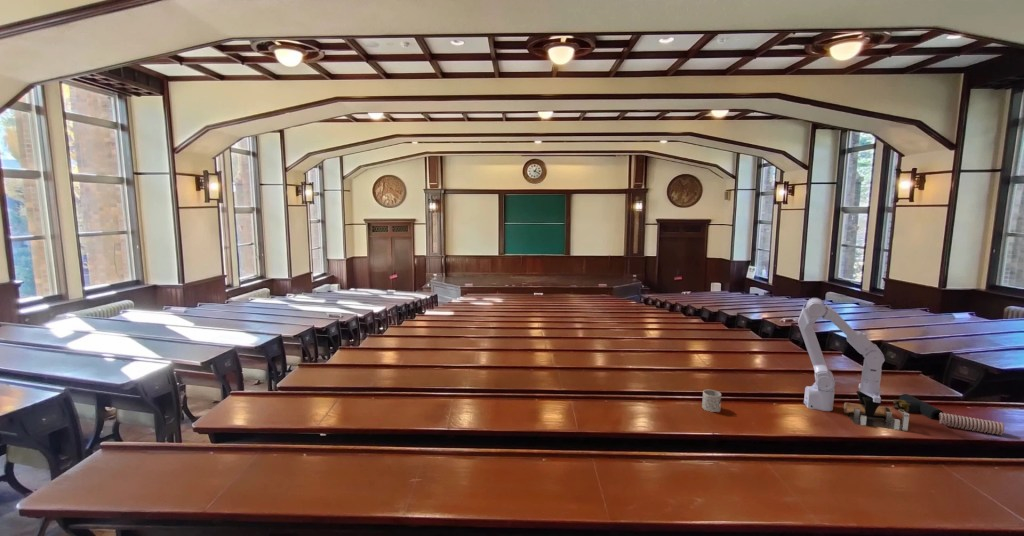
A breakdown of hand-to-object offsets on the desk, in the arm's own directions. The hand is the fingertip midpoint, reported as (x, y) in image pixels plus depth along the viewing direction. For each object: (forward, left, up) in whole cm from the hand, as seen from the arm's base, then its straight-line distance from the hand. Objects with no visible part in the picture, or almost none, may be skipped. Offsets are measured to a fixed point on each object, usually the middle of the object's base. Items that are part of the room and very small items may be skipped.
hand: (866, 413), depth 177 cm
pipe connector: (+19, +11, -2) cm, 22 cm away
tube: (0, 0, -1) cm, 1 cm away
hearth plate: (+1, -4, -2) cm, 4 cm away
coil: (+32, +1, -2) cm, 32 cm away
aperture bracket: (+8, -8, -1) cm, 11 cm away
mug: (-56, -9, -2) cm, 57 cm away
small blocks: (+1, -7, -2) cm, 7 cm away
